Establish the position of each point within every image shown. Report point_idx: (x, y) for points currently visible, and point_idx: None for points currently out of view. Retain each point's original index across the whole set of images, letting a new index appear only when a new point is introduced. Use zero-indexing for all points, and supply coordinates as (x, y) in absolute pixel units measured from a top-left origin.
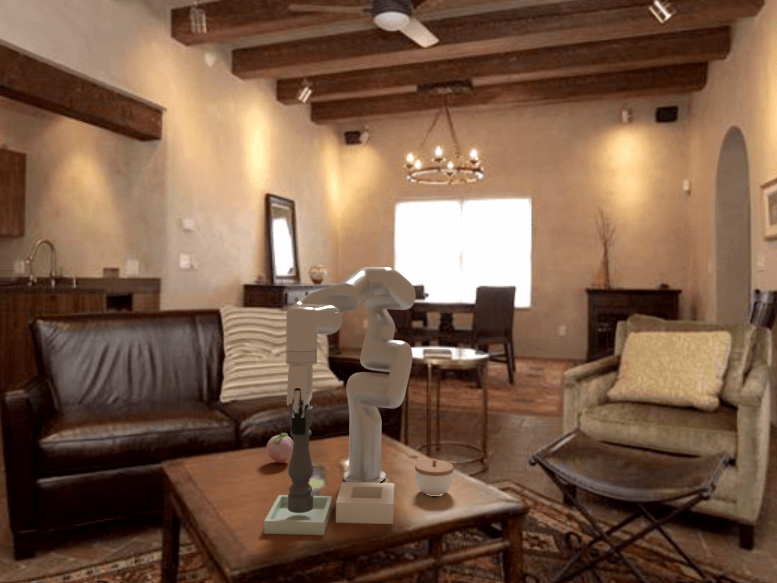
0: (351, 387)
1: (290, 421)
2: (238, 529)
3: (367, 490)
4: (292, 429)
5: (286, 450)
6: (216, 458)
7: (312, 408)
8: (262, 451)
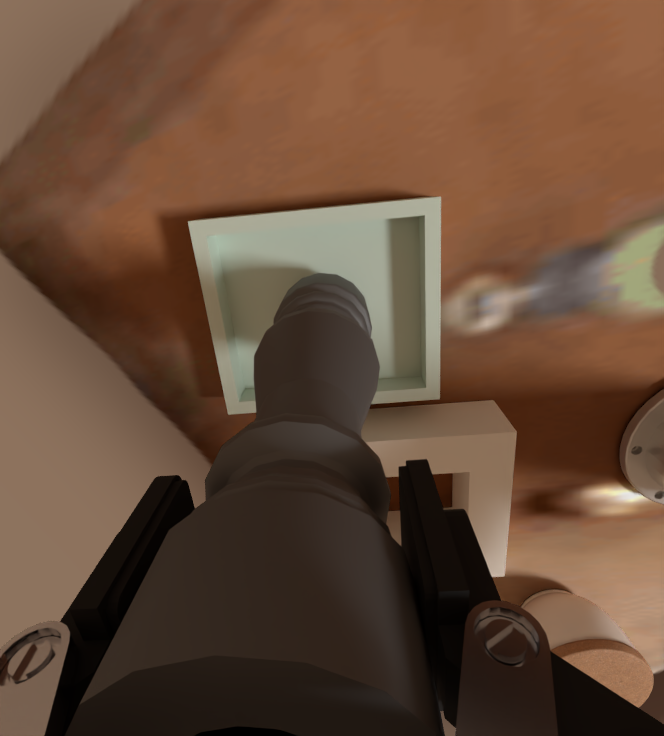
0: None
1: (190, 515)
2: (209, 107)
3: (465, 504)
4: (142, 505)
5: None
6: None
7: None
8: None
